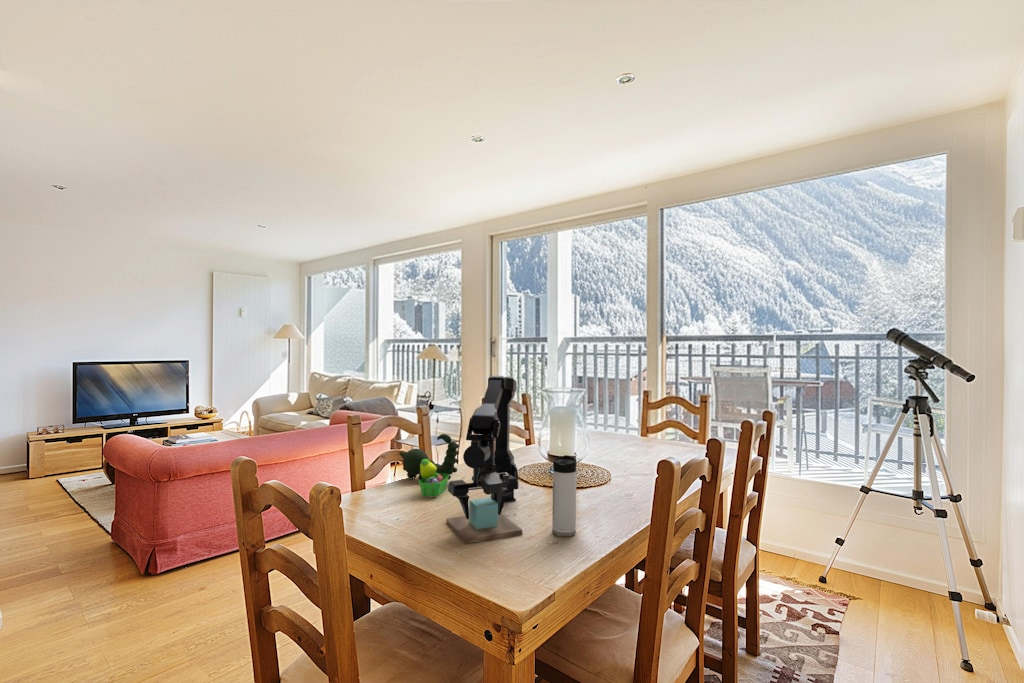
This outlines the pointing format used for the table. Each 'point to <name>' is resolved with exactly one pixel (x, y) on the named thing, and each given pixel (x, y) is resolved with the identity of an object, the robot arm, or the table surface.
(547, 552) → the table surface
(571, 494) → the travel mug
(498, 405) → the robot arm
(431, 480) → the fruit basket
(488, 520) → the teal cube
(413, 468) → the toy figurine
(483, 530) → the walnut board
